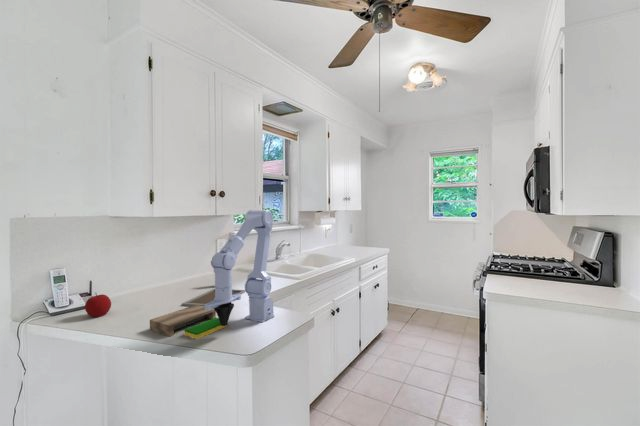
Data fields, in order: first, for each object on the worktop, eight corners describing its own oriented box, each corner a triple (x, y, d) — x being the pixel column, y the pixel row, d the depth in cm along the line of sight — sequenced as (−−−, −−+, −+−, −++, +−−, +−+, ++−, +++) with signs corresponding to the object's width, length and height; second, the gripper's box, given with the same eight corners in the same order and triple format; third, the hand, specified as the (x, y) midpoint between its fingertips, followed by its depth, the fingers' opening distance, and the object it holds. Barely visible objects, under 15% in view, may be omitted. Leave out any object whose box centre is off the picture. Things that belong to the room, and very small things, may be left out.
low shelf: (215, 318, 120) (215, 308, 120) (169, 336, 103) (169, 325, 103) (196, 313, 126) (196, 304, 126) (149, 330, 109) (149, 319, 109)
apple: (112, 315, 125) (112, 292, 125) (85, 321, 119) (85, 296, 119) (110, 310, 132) (109, 288, 132) (84, 315, 126) (84, 291, 126)
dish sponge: (183, 336, 104) (183, 329, 104) (216, 323, 116) (215, 317, 116) (196, 340, 100) (196, 333, 100) (228, 326, 112) (228, 320, 112)
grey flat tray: (181, 303, 137) (216, 287, 166) (181, 307, 137) (216, 290, 166) (218, 305, 133) (247, 288, 162) (218, 309, 133) (247, 291, 162)
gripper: (231, 281, 112) (231, 316, 112) (198, 289, 99) (198, 330, 99) (244, 283, 108) (245, 319, 108) (212, 292, 96) (213, 334, 96)
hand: (223, 325), depth 103 cm, fingers closed
